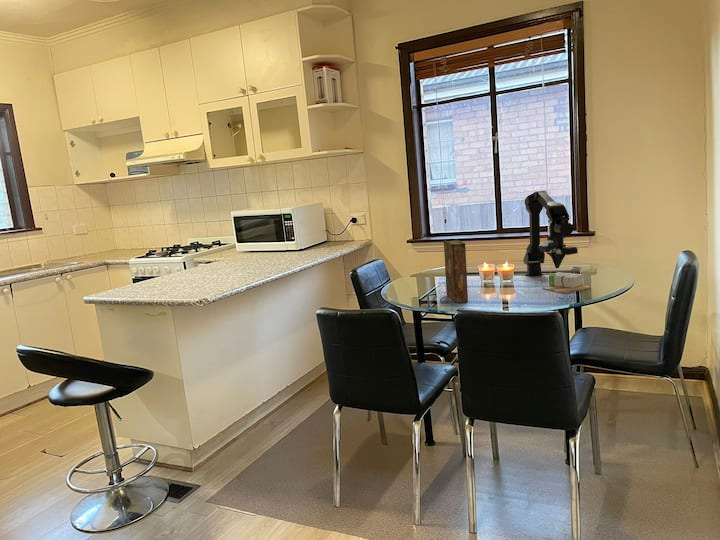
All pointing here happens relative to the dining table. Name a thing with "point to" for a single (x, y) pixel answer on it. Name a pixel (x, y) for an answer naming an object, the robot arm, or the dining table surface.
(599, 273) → the dining table surface
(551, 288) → the cork trivet
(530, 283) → the dining table surface
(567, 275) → the ink box
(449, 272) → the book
